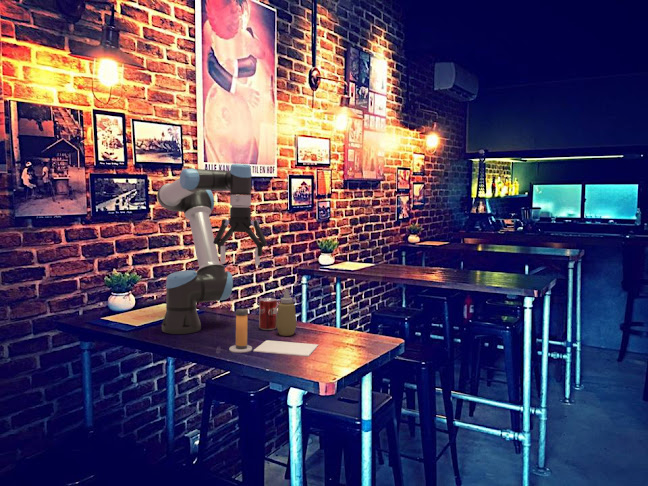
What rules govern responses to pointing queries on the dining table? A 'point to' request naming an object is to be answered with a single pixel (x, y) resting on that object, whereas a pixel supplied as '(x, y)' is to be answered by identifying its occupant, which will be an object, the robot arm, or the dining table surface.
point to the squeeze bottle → (286, 316)
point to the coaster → (233, 349)
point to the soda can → (267, 313)
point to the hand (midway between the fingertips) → (240, 264)
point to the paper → (286, 348)
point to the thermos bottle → (241, 328)
